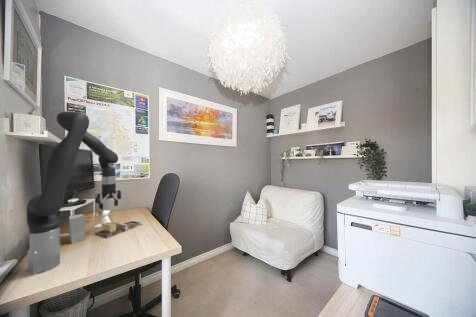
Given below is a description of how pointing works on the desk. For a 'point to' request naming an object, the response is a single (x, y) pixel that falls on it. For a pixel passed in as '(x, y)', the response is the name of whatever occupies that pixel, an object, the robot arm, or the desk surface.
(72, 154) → the robot arm
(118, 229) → the lock board
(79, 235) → the skincare box
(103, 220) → the white creature statuette
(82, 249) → the desk surface
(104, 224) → the stop bar
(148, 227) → the desk surface
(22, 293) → the desk surface
